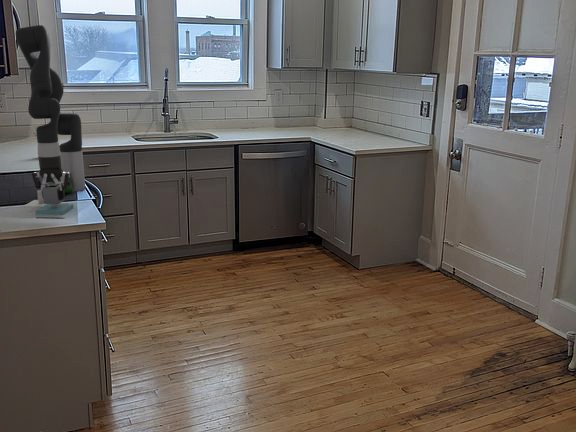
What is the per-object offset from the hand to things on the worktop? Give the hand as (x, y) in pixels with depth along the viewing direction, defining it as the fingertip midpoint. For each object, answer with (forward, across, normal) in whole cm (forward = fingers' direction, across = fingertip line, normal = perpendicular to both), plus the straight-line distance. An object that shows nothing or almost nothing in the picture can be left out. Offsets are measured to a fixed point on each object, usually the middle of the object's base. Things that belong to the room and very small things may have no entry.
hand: (54, 199), depth 221 cm
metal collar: (+1, 0, 0) cm, 1 cm away
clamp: (+6, +11, -27) cm, 29 cm away
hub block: (+6, 0, 0) cm, 6 cm away
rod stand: (+6, +10, -11) cm, 17 cm away
